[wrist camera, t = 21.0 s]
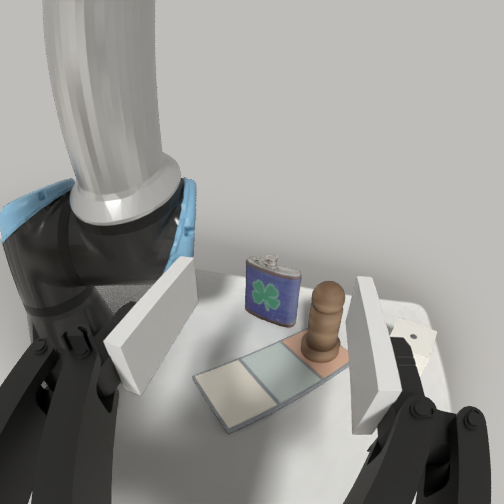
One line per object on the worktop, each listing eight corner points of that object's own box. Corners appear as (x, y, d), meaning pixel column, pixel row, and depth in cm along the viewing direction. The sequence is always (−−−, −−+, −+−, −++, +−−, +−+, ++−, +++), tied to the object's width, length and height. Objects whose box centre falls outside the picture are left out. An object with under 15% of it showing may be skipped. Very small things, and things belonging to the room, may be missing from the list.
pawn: (292, 347, 36) (298, 281, 31) (319, 332, 38) (328, 268, 34) (320, 369, 32) (333, 301, 27) (346, 350, 34) (361, 284, 30)
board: (192, 379, 31) (192, 375, 31) (313, 328, 40) (314, 324, 40) (228, 433, 24) (228, 430, 24) (356, 361, 34) (357, 356, 33)
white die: (372, 375, 31) (386, 341, 29) (386, 349, 35) (399, 317, 33) (410, 391, 27) (429, 358, 25) (421, 363, 32) (437, 331, 29)
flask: (298, 321, 42) (305, 259, 38) (289, 331, 40) (295, 267, 36) (251, 302, 47) (251, 243, 43) (240, 310, 45) (239, 249, 41)
